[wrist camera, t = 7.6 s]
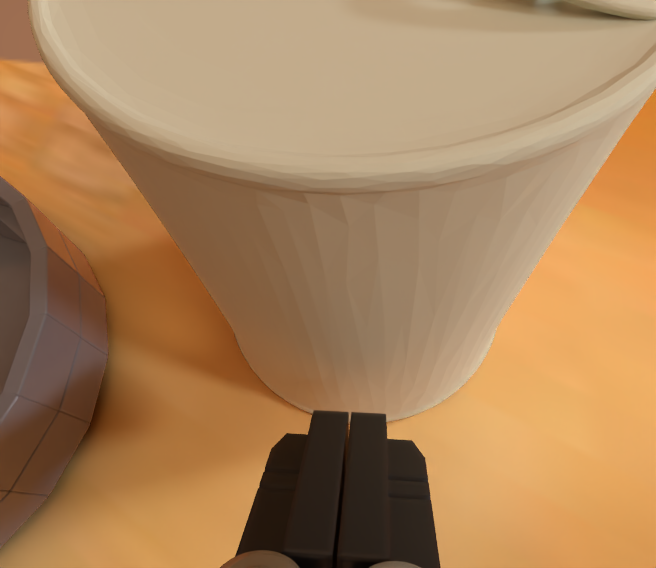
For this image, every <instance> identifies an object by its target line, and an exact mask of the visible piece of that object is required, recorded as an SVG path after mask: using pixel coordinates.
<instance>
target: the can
mask: <svg viewBox="0 0 656 568" xmlns="http://www.w3.org/2000/svg"><path fill="white" fill-rule="evenodd" d="M28 16H29V20H30V25H31V29H32V34H33V36H34V39H35V42H36V45H37V48H38V50H39V53H40V55H41V57H42V60H43V61H44V63H45V65H46V67H47V68H48V70H49V72H50V74H51V75H52V76H53V78H54V79H55V81H56V82H57V83H58V85H59V86H60V87H61V89H62V90H63V91H64V92H65V93H66V94H67V95H68V96H69V97H70V99H71V100H72V101H73V102H74V103H75V104H76V105H77V106H78V107H79V108H80V109H81V110H82V111H83V112H84V113H85V114H86V116H87V117H88V119H89V120H90V121H91V123H92V124H93V125H94V127H95V128H96V130H97V131H98V132H99V134H100V135H101V137H102V138H103V139H104V141H105V142H106V144H107V145H108V146H109V148H110V149H111V151H112V152H113V153H114V155H115V156H116V157H117V159H118V160H119V162H120V163H121V164H122V166H123V167H124V169H125V170H126V171H127V173H128V174H129V176H130V177H131V178H132V180H133V181H134V183H135V184H136V186H137V187H138V189H139V190H140V192H141V193H142V194H143V196H144V197H145V199H146V200H147V202H148V203H149V205H150V206H151V208H152V209H153V210H154V212H155V213H156V215H157V216H158V218H159V219H160V221H161V222H162V224H163V225H164V227H165V228H166V229H167V231H168V232H169V234H170V235H171V237H172V238H173V240H174V241H175V243H176V244H177V246H178V247H179V249H180V250H181V252H182V253H183V255H184V256H185V258H186V259H187V261H188V262H189V264H190V265H191V267H192V268H193V270H194V271H195V273H196V274H197V276H198V277H199V279H200V280H201V282H202V283H203V285H204V286H205V288H206V289H207V291H208V292H209V294H210V296H211V297H212V299H213V300H214V302H215V303H216V305H217V306H218V308H219V309H220V311H221V312H222V314H223V315H224V317H225V319H226V320H227V322H228V323H229V325H230V326H231V328H232V329H233V331H234V334H235V337H236V340H237V343H238V345H239V348H240V350H241V352H242V354H243V356H244V357H245V359H246V361H247V362H248V364H249V365H250V367H251V368H252V370H253V371H254V372H255V373H256V375H257V376H258V377H259V378H260V379H261V380H262V381H263V382H264V383H265V384H266V386H267V387H269V388H270V389H271V390H272V391H273V392H275V393H276V394H277V395H279V396H280V397H281V398H283V399H284V400H286V401H287V402H288V403H290V404H292V405H294V406H296V407H298V408H299V409H301V410H304V411H306V412H308V413H311V414H313V411H314V410H323V411H342V412H349V423H350V420H351V412H363V413H382V414H386V422H389V421H395V420H400V419H403V418H407V417H410V416H413V415H416V414H419V413H421V412H424V411H426V410H428V409H430V408H432V407H434V406H436V405H437V404H439V403H441V402H442V401H444V400H445V399H447V398H448V397H450V396H451V395H452V394H454V393H455V392H456V391H457V390H458V389H460V388H461V387H462V386H463V385H464V384H465V383H466V382H467V381H468V380H469V378H470V377H471V376H472V375H473V374H474V373H475V372H476V370H477V369H478V367H479V366H480V365H481V363H482V361H483V360H484V358H485V356H486V355H487V353H488V351H489V348H490V346H491V344H492V341H493V339H494V336H495V332H496V329H497V327H498V325H499V323H500V322H501V320H502V318H503V317H504V315H505V314H506V312H507V311H508V309H509V307H510V306H511V304H512V303H513V301H514V300H515V298H516V297H517V295H518V293H519V292H520V290H521V289H522V287H523V286H524V284H525V282H526V281H527V279H528V278H529V276H530V275H531V273H532V272H533V270H534V268H535V267H536V265H537V264H538V262H539V261H540V259H541V257H542V256H543V254H544V253H545V251H546V250H547V248H548V247H549V245H550V243H551V242H552V240H553V239H554V237H555V236H556V234H557V232H558V231H559V229H560V228H561V227H562V225H563V224H564V222H565V221H566V219H567V218H568V216H569V215H570V213H571V212H572V210H573V209H574V207H575V206H576V204H577V203H578V201H579V200H580V198H581V197H582V195H583V194H584V192H585V191H586V189H587V188H588V186H589V185H590V183H591V182H592V180H593V179H594V177H595V176H596V174H597V173H598V171H599V170H600V168H601V167H602V165H603V164H604V162H605V161H606V159H607V158H608V156H609V155H610V153H611V152H612V150H613V149H614V147H615V146H616V144H617V143H618V141H619V140H620V138H621V137H622V135H623V134H624V132H625V131H626V129H627V128H628V127H629V125H630V124H631V122H632V121H633V120H634V118H635V117H636V115H637V114H638V113H639V111H640V110H641V108H642V107H643V106H644V104H645V103H646V101H647V100H648V98H649V97H650V96H651V94H652V93H653V91H654V90H655V89H656V0H28Z"/></svg>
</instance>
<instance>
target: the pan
mask: <svg viewBox="0 0 656 568" xmlns="http://www.w3.org/2000/svg"><path fill="white" fill-rule="evenodd" d="M108 354H109V353H108V336H107V320H106V303H105V296H104V294H103V292H102V290H101V288H100V286H99V284H98V282H97V280H96V278H95V276H94V274H93V272H92V269H91V267H90V265H89V263H88V261H87V259H86V257H85V255H84V254H83V253H82V252H81V251H80V250H79V249H78V248H77V247H76V246H75V245H74V244H73V243H72V242H71V241H70V240H69V239H68V238H67V237H66V236H65V235H64V234H63V233H62V232H61V231H60V230H59V229H58V228H57V227H56V226H55V225H54V224H53V223H52V222H51V221H50V220H49V219H48V218H47V217H46V216H44V215H43V214H42V213H41V212H40V211H39V210H38V209H37V208H36V207H35V206H34V205H33V204H32V203H31V202H30V201H29V200H28V199H27V198H26V197H25V196H24V195H23V194H21V193H20V192H19V191H18V190H17V189H15V188H14V187H13V186H12V185H11V184H9V183H8V182H7V181H6V180H4V179H3V178H2V177H1V176H0V548H1V547H2V546H3V545H4V544H5V543H6V541H7V540H8V539H9V538H10V537H11V536H12V535H13V534H14V533H15V532H16V531H17V530H18V529H19V528H20V527H21V526H22V525H23V523H24V522H25V521H26V520H27V519H28V518H29V517H30V516H31V515H32V514H33V513H34V512H35V511H36V510H37V509H38V508H39V506H40V505H41V504H42V503H43V502H44V501H45V500H46V499H47V498H48V495H50V494H51V492H52V490H53V489H54V487H55V485H56V483H57V482H58V480H59V478H60V476H61V475H62V473H63V471H64V469H65V468H66V466H67V464H68V463H69V461H70V459H71V457H72V456H73V454H74V452H75V450H76V449H77V447H78V445H79V443H80V442H81V440H82V438H83V436H84V435H85V433H86V431H87V429H88V428H89V426H90V422H91V420H92V416H93V413H94V409H95V405H96V401H97V397H98V394H99V390H100V386H101V382H102V379H103V375H104V371H105V367H106V363H107V360H108Z"/></svg>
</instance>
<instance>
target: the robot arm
mask: <svg viewBox="0 0 656 568" xmlns="http://www.w3.org/2000/svg"><path fill="white" fill-rule="evenodd" d="M220 568H440V561H439V554H438V547H437V540H436V533H435V526H434V518H433V511H432V504H431V500H430V490H429V483H428V476H427V469H426V462H425V457H424V456H423V455H422V453H421V452H420V451H419V449H418V448H417V447H416V445H415V444H414V443H413V441H411V440H394V439H387V425H386V414H382V413H363V412H351V420H350V430H349V412H342V411H323V410H314V411H313V415H312V419H311V423H310V428H309V432H308V435H306V434H289V433H287V434H286V435H285V436H284V437H283V438H282V439H281V440H280V441H279V442H278V443H277V444H276V445H275V446H274V447H273V448H272V449H271V452H270V455H269V458H268V461H267V464H266V467H265V472H264V473H263V476H262V479H261V481H260V487H259V488H258V490H257V493H256V496H255V499H254V502H253V505H252V508H251V511H250V514H249V517H248V520H247V523H246V526H245V529H244V532H243V535H242V538H241V541H240V544H239V547H238V550H237V553H236V555H235V557H234V558H232V559H230V560H229V561H228V562H226V563H225V564H223V565H222V566H221V567H220Z"/></svg>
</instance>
